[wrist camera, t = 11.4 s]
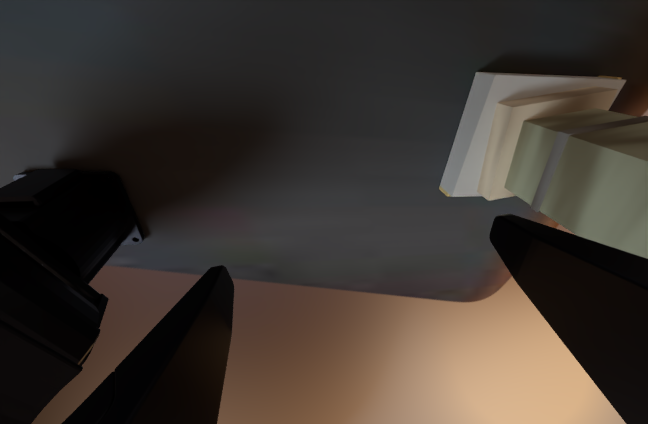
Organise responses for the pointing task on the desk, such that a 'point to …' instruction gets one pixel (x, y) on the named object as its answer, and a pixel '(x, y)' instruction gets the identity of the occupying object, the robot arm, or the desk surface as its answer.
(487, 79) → the plate
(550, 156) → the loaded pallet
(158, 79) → the desk surface
